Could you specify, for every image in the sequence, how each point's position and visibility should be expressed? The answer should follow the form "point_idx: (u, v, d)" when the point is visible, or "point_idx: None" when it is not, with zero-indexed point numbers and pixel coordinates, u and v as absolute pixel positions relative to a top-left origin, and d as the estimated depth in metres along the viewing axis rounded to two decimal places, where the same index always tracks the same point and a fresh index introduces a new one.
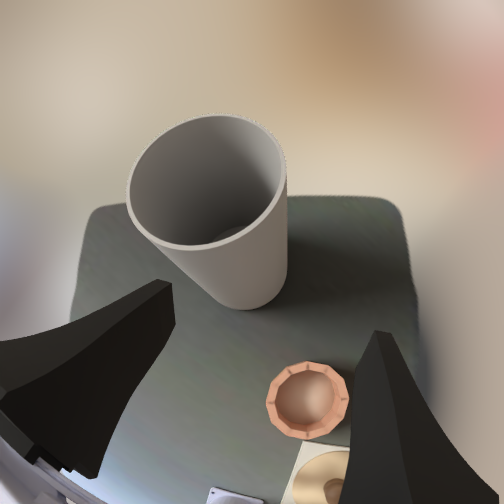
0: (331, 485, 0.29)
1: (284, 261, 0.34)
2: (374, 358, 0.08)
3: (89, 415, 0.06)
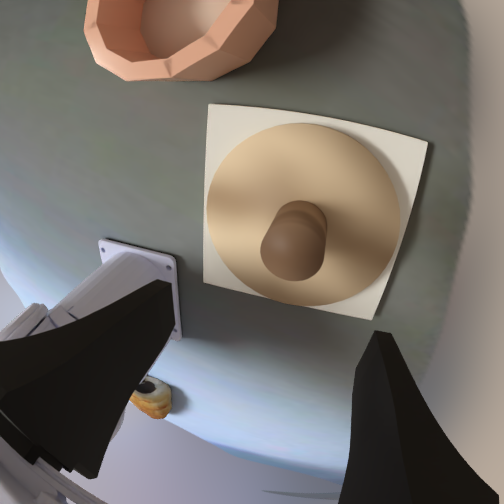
0: (278, 217, 0.16)
1: None
2: (374, 358, 0.08)
3: (89, 415, 0.06)
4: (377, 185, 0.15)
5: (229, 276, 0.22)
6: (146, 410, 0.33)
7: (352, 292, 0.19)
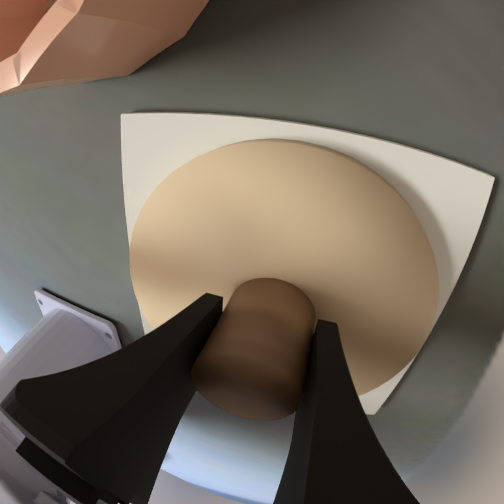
0: (223, 321, 0.09)
1: None
2: (313, 347, 0.08)
3: (148, 446, 0.06)
4: (407, 255, 0.08)
5: None
6: None
7: None
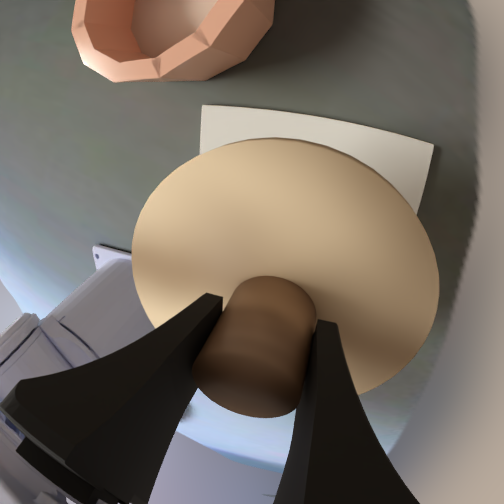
0: (224, 319, 0.09)
1: None
2: (313, 347, 0.08)
3: (148, 445, 0.06)
4: (408, 254, 0.08)
5: None
6: None
7: None
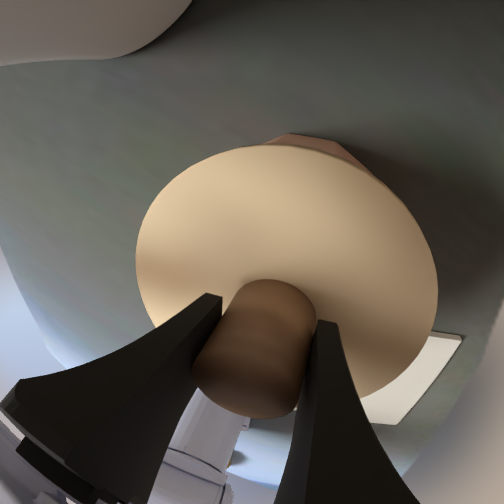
0: (223, 321, 0.09)
1: None
2: (313, 347, 0.08)
3: (147, 445, 0.06)
4: (403, 252, 0.08)
5: None
6: None
7: None
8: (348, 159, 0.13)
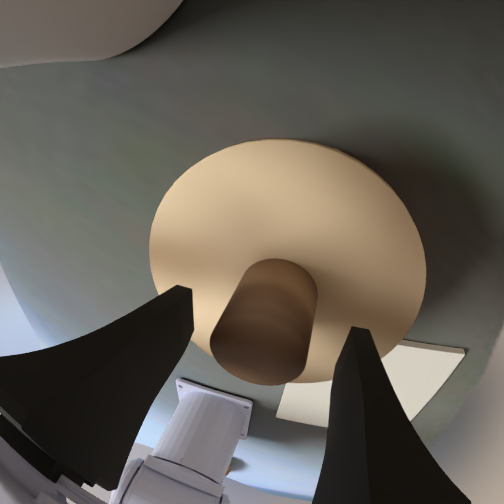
0: (236, 295, 0.10)
1: None
2: (349, 354, 0.08)
3: (112, 428, 0.06)
4: (393, 231, 0.10)
5: (298, 416, 0.25)
6: None
7: None
8: None
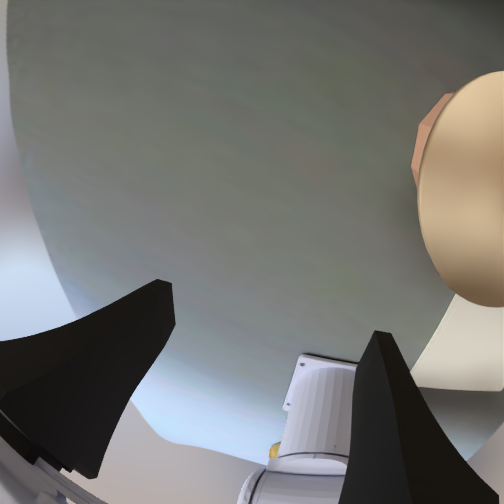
0: None
1: None
2: (374, 358, 0.08)
3: (89, 415, 0.06)
4: None
5: (428, 380, 0.22)
6: None
7: None
8: None
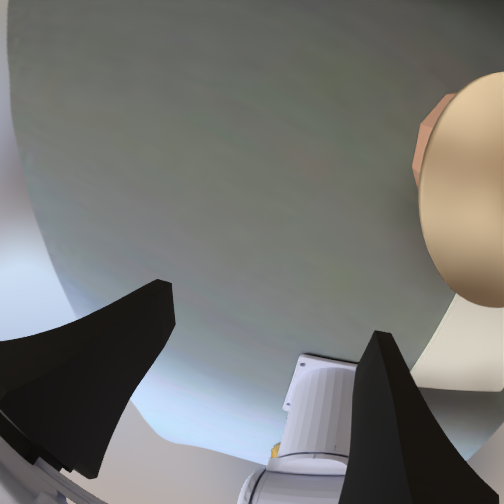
0: None
1: None
2: (374, 358, 0.08)
3: (89, 415, 0.06)
4: None
5: (428, 380, 0.22)
6: None
7: None
8: None
